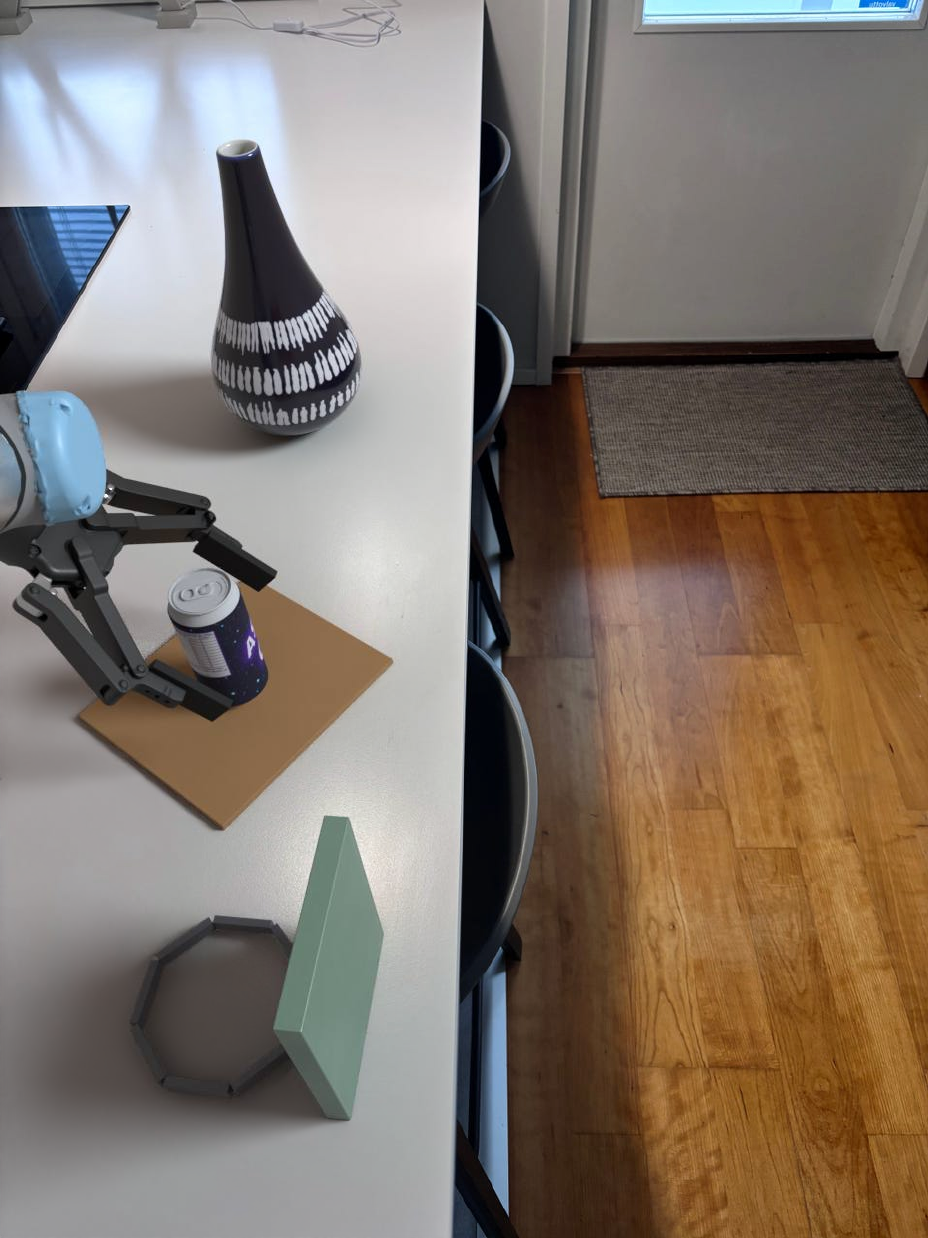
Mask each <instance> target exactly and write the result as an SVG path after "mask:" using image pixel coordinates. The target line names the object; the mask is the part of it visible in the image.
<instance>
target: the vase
mask: <svg viewBox="0 0 928 1238" xmlns="http://www.w3.org/2000/svg"><path fill="white" fill-rule="evenodd" d="M215 155H216V162H217V168H218V176H219V182H220V190H221V201H222V212H223V213H222V214H223V215H222V216H223V230H224V265H223V267H224V269H223V277H222V285H221V293H220V297H219V304H218V309H217V314H216V319H215V324H214V329H213V334H212V339H211V347H210V348H211V349H210V364H211V365H210V366H211V367H210V368H211V373H212V378H213V382H214V386H215V388H216V391H217V393H218V396H219V397H220V399H221V401H222V403H223V404H224V405H225V407H226V408H227V409H228V411H230V413H231V414H232V415H234V417H235V418H236V419H238V420H239V421H241V422H242V423H243V424H245V425H246V426H248V427H250V428H252V429H254V430H256V431H259V432H263V433H265V434H269V435H274V436H282V437H286V436H290V437H291V436H303V435H307V434H311V433H313V432H317V431H318V430H320V429H321V430H322V429H323V428H325V427H327V426H328V425H330V424H331V423H333V422H334V421H336V420H337V419H338V418H339V417H340V416H341V415H343V414H344V413H345V411H347V409H348V408H349V406H350V405H351V403H352V402H353V400H354V399H355V397H356V395H357V393H358V390H359V387H360V384H361V380H362V373H363V363H362V353H361V349H360V345H359V342H358V339H357V337H356V334H355V332H354V330H353V327H352V325H351V323H350V322H349V320H348V318H347V317H346V316H345V314H344V312H343V311H342V310H341V308H340V307H339V306H338V305H337V303H336V302H335V300H334V299H333V297H332V296H331V295H330V294H329V293H328V291H327V290H326V288H325V287H324V285H323V284H322V282H321V281H320V280H319V279H318V277H317V276H316V274H315V273H314V270H312V268H311V266H310V265H309V263H308V262H307V260H306V259H305V256H304V254H303V253H302V251H301V249H300V247H299V245H298V244H297V241H296V240H295V237H294V235H293V234H292V231H291V229H290V227H289V225H288V223H287V220H286V217H285V216H284V213H283V211H282V208H281V205H280V203H279V200H278V198H277V195H276V192H275V190H274V188H273V185H272V182H271V179H270V175H269V173H268V170H267V167H266V164H265V161H264V157H263V153H262V151H261V148H260V145H259V143H257V142H255V141H254V140H251V139H235V140H229V141H227V142H224V143H223V144H221V145H220V146H218V148H217V149H216V151H215Z"/></svg>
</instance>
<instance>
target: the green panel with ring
mask: <svg viewBox="0 0 928 1238" xmlns="http://www.w3.org/2000/svg"><path fill="white" fill-rule="evenodd" d="M320 827H321V828H320V832H319V835H318V839H317V843H316V848H315V852H314V856H313V860H312V864H311V868H310V871H309V872H310V873H309V875H308V876H309V877H308V879H307V880H308V881H307V884H306V889H305V892H304V897H303V902H302V907H301V908H300V909H301V910H300V914H299V918H298V922H297V926H296V931H295V935H294V939H293V943H292V941H291V940H290V939H289V937H288V936H287V934H286V933H285V931H284V930H283V929H282V927H281V926H280V924H279V923H278V922H277V923H275V922H274V921H273V920H272V919H263V918H262V919H261V918H251V917H239V916H229V915H219V914H218V915H217V914H216V915H214V917H213V920H212V919H211V918H210V917H209V916H208V917H206V918H205V919H203V920H202V921H200V922H199V923H198V924H196V925H195V926H193V927H192V928H190V929H189V930H188V931H186V932H185V933H182V935H180V936H179V937H178V938H176V939H174V940H173V941H171V942H170V943H169V944H167V945H166V946H164V947H162V948H161V949H160V950H158V951H157V952H156V953H154V956H155V958H156V959H150V960H149V963H148V966H147V968H146V972H145V975H144V977H143V980H142V983H141V986H140V989H139V992H138V996H137V998H136V1001H135V1004H134V1007H133V1010H132V1012H131V1016H130V1019H129V1022H128V1023H129V1024H130V1025H131V1026H132V1027H130V1028H129V1031H130V1034H131V1035H132V1037H133V1039H134V1041H135V1043H136V1045H137V1047H138V1048H139V1050H140V1053H141V1055H142V1056H143V1059H144V1060H145V1062H146V1064H147V1065H148V1067H149V1069H150V1071H151V1073H152V1075H153V1077H154V1079H155V1081H156V1082H157V1084H159V1085H160V1087H162V1088H165V1090H167V1091H168V1092H171V1093H180V1094H189V1095H198V1096H207V1097H215V1098H223V1099H232V1098H233V1095H234V1093H235V1094H236V1095H237V1097H238V1096H239V1097H240V1096H241V1095H242V1094H243V1093H245V1092H246V1091H247V1090H249V1089H250V1088H252V1086H254V1085H255V1084H256V1083H258V1082H259V1081H260V1080H262V1078H264V1077H265V1076H267V1075H268V1074H269V1073H270V1072H271V1071H273V1070H274V1069H275V1068H276V1067H278V1066H280V1064H282V1063H283V1062H284V1061H285V1060H287V1059H288V1058H290V1060H291V1062H292V1063H293V1065H294V1066H295V1068H296V1070H297V1071H298V1073H299V1074H300V1076H301V1077H302V1079H303V1081H304V1083H305V1084H306V1086H307V1087H308V1089H309V1091H310V1092H311V1094H312V1095H313V1096H314V1098H315V1101H316V1102H317V1104H318V1105H319V1107H320V1108H321V1109H322V1111H323V1113H324V1114H325V1116H326V1118H328V1119H334V1120H344V1121H351V1120H352V1116H353V1109H354V1103H355V1098H356V1093H357V1087H358V1081H359V1076H360V1071H361V1064H362V1058H363V1053H364V1048H365V1042H366V1037H367V1033H368V1032H367V1031H368V1026H369V1020H370V1015H371V1009H372V1005H373V1004H372V1002H373V999H374V993H375V987H376V981H377V975H378V970H379V963H380V959H381V952H382V947H383V941H384V937H385V936H384V935H385V932H384V929H383V928H384V927H383V925H382V922H381V919H380V915H379V912H378V909H377V905H376V902H375V898H374V895H373V892H372V889H371V886H370V882H369V879H368V875H367V872H366V868H365V865H364V862H363V859H362V855H361V852H360V849H359V846H358V842H357V839H356V836H355V833H354V830H353V826H352V823H351V818H350V817H349V816H340V815H324V816H323V819H322V823H321V826H320ZM216 931H226V932H227V931H228V932H237V933H247V934H248V933H249V934H259V935H269V936H270V935H271V936H273V937H274V938H275V939H276V941H277V943H278V944H279V945H280V947H281V949H282V950H283V951H284V952H285V954H286V955H287V957H288V964H287V968H286V972H285V975H284V980H283V985H282V988H281V992H280V996H279V1000H278V1004H277V1009H276V1013H275V1017H274V1022H273V1025H272V1032H273V1033H274V1034H275V1036H276V1037H277V1039H278V1041H279V1042H280V1044H278V1045H277V1046H276V1047H274V1048H273V1049H272V1050H271V1051H270V1052H268V1053H267V1054H266V1055H264V1056H262V1057H261V1058H260V1059H259V1060H258V1061H257V1062H255V1063H254V1064H253V1065H251V1066H250V1067H249V1068H247V1069H246V1070H245V1071H244V1072H242V1073H241V1074H240V1075H239V1076H237V1077H235V1079H233V1080H232V1081H231V1082H222V1081H215V1080H207V1079H206V1080H204V1079H198V1078H197V1079H196V1078H187V1077H178V1076H170V1075H169V1074H168V1072H167V1070H166V1069H165V1067H164V1065H163V1063H162V1061H161V1060H160V1057H159V1056H158V1054H157V1052H156V1049H155V1048H154V1046H153V1045H152V1043H151V1040H150V1039H149V1037H148V1036H147V1034H146V1032H145V1030H144V1028H145V1025H146V1022H147V1018H148V1015H149V1013H150V1010H151V1006H152V1003H153V1002H154V1001H153V1000H154V997H155V994H156V991H157V988H158V985H159V983H160V979H161V976H162V974H163V970H164V967H166V966H167V965H169V964H170V963H172V962H173V961H174V960H176V959H177V958H179V957H180V956H181V955H183V954H184V953H186V952H188V951H189V950H190V949H192V948H193V947H194V946H196V945H198V944H199V943H200V942H201V941H203V940H204V939H206V938H207V937H209V936H210V935H212V934H213V933H214V932H216Z"/></svg>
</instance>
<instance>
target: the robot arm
mask: <svg viewBox="0 0 928 1238" xmlns="http://www.w3.org/2000/svg"><path fill="white" fill-rule="evenodd" d="M104 505H107V506H109V507H112V508H116V509H121V510H126V511H131V512H107V510H106V508H105V507H104ZM211 507H212V502H211V500H210V498H208V497H207V496H205V495H201V494H197V493H192V492H188V491H183V490H178V489H174V488H170V487H166V486H161V485H158V484H152V483H149V482H144V481H139V480H134V479H130V478H126V477H123V476H121V475H119V474H117V473H115V472H113V471H112V470H110V469H108V468H107V464H106V457H105V450H104V445H103V441H102V438H101V433H100V430H99V428H98V425H97V422H96V421H95V418H94V417H93V414H92V413H91V411H90V409H89V407H88V406H87V405H86V404H85V403H84V401H82V399H80V398H79V397H78V396H76V395H75V394H73V393H72V392H71V391H70V392H69V391H66V390H61V389H59V390H58V389H57V390H56V389H55V390H40V391H39V390H38V391H27V390H25V389H24V390H16V391H15V392H14V393H2V394H0V562H1V563H3V564H4V565H6V566H9V567H16V568H21V569H23V570H25V571H26V572H27V573H28V574H29V575H30V576H31V578H32V579H33V580H32V581H31V582H30V583H27V584H26V585H25V586H24V588H23V589H22V590H21V591H20V593H19V594H18V595H17V596H16V597H15V599H14V600H13V602H12V608H13V610H14V611H15V613H17V614H19V615H20V616H21V617H23V618H25V619H27V620H28V621H29V622H31V623H33V625H35V626H37V627H38V628H39V629H40V630H41V631H42V632H43V634H44V635H45V636H46V638H48V640H49V641H50V642H51V643H52V644H53V646H54V647H55V648H56V649H57V651H59V653H60V654H61V655H62V657H64V659H65V660H66V661H67V662H68V663H69V664H70V666H71V667H72V668H73V669H74V671H75V672H76V673H77V674H78V675H79V676H80V677H81V679H82V680H83V682H85V684H87V686H88V687H89V689H91V690H92V692H93V693H94V694H95V696H96V697H97V699H100V700H101V701H102V702H103V703H104V704H105V705H108V706H112V705H114V704H115V703H117V702H118V701H119V700H120V699H121V698H122V697H123V696H125V695H126V694H127V693H128V692H131V691H134V692H138V693H140V694H142V695H144V696H145V697H147V698H149V699H151V700H153V701H155V702H157V703H160V704H161V705H163V706H165V707H167V708H173V709H174V708H175V707H176V706H177V705H178V704H179V705H181V706H183V707H185V708H187V709H188V710H190V711H192V712H194V713H196V714H198V715H200V716H202V717H204V718H205V719H207V720H209V721H211V722H213V721H214V720H216V719H217V718H218V717H220V716H221V715H222V714H224V713H225V712H226V711H228V710H229V709H230V708H231V705H232V702H233V700H231V699H229V698H227V697H225V696H224V695H222V694H220V693H218V692H216V691H214V690H213V689H211V688H209V687H207V686H205V685H203V684H202V683H200V682H198V681H196V680H194V679H192V678H191V677H189V676H187V675H185V674H183V673H182V672H180V671H178V670H176V669H174V668H172V667H171V666H169V665H167V664H165V663H163V662H161V661H160V660H158V659H155V660H154V661H153V662H152V663H151V664H150V665H148V666H147V665H146V663H145V659H144V657H143V656H142V653H141V652H140V649H139V648H138V645H137V643H136V642H135V640H134V638H133V636H132V635H131V633H130V631H129V629H128V627H127V625H126V623H125V621H124V620H123V617H122V615H121V614H120V612H119V610H118V608H117V606H116V604H115V603H114V601H113V598H112V597H111V595H110V593H109V588H110V587H109V582H108V580H107V579H106V578H107V576H108V575H109V574H110V573H111V571H112V570H113V567H114V566H115V558H116V557H117V556H118V555H119V553H121V551H122V550H123V548H124V547H125V546H131V545H133V546H134V545H152V544H153V545H154V544H176V543H177V544H178V543H195V542H197V543H196V544H195V545H194V548H193V549H192V553H194V554H196V555H197V556H199V557H200V558H202V559H203V560H205V561H207V562H208V563H210V564H212V565H213V566H214V567H217V569H219V570H222V571H224V572H225V573H226V574H228V575H229V576H231V577H233V578H235V579H236V580H237V581H240V582H243V583H244V584H246V585H248V586H249V587H251V588H252V589H254V590H256V591H257V592H260V591H261V590H262V589H263V588H264V587H265V586H266V585H267V586H269V584H270V583H271V582H273V581H274V580H275V579H276V578H277V574H278V570H277V569H275V568H273V567H271V566H270V565H268V564H267V563H266V562H264V561H262V560H260V559H259V558H257V557H256V556H254V555H253V554H251V553H249V551H246V550H245V549H244V548H243V544H242V543H241V542H240V541H239V540H238V539H236V538H234V537H233V536H232V535H230V534H228V533H226V532H225V531H224V530H223V529H220V528H219V527H217V526H215V525H214V524H215V523H216V522H217V515H216V514H215V512H213V511H211V510H209V509H210V508H211ZM134 512H135V513H141V514H146V515H135V514H134ZM58 588H61V589H63V591H64V593H65V594H66V597H67V598H68V600H69V602H70V604H71V606H72V608H73V610H75V611H77V612H79V614H81V616H82V619H83V620H84V622H85V624H86V626H87V627H86V626H85V625H84V624H83V623H82V622H81V620H80V619H79V618H78V617H77V616H76V614H75V612H73V610H71V608H70V607H69V606H68V605H67V604H66V603H65V602H64V601H63V600H61V599H60V598H59V596H58V595H59V594H58V590H57V589H58ZM87 628H88V629H87Z"/></svg>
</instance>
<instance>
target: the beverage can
mask: <svg viewBox="0 0 928 1238" xmlns="http://www.w3.org/2000/svg"><path fill="white" fill-rule="evenodd" d="M167 601H168V603H167V606H166V607H167V608H166V609H167V615H168V617H169V620H170V622H171V624H172V626H173V629H174V631H175V633H176V635H177V636H178V638H179V640H180V642H181V645H182V647H183V649H184V651H185V654H186V656H187V658H188V661H189V663H190V665H191V667H192V670H193V672H194V674H195V676H196V679H197V681H198V682H200V683H202V684H203V685H205V686H207V687H209V688H211V689H213V690H214V691H216V692H218V693H220V694H222V695H224V696H225V697H227V698H229V699H231V700H233V702H232V705H231V707H233V706H238V705H242V704H245V703H247V702H249V701H251V700H252V699H254V698H255V697H257V696H258V695H259V694H260V693H261V692H262V690H263V689H264V688H265V686H266V684H267V681H268V669H267V666H266V663H265V660H264V657H263V654H262V651H261V649H260V646H259V643H258V640H257V637H256V634H255V631H254V628H253V625H252V623H251V620H250V617H249V614H248V611H247V608H246V605H245V602H244V599H243V597H242V594H241V591H240V588H239V586H238V584H237V583H236V582H235V581H234V580H233V579H232V578H231V577H230V575H229V574H228V573H226V572H225V571H223V570H221V569H220V568H215V567H198V568H194V569H192V570H189V571H187V572H185V573H183V574H182V575H180V576H179V577H177V578H176V579H175V580H174V581H173V582H172V584H171V585H170V587H169V588H168V593H167Z"/></svg>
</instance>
